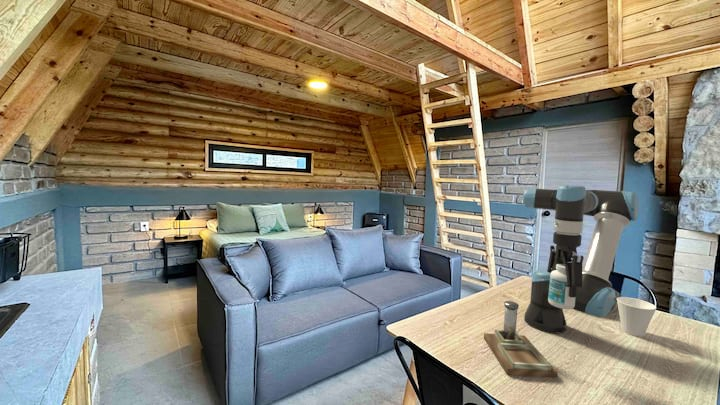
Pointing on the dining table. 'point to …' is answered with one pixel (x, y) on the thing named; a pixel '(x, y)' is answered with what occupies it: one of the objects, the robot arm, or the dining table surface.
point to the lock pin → (510, 320)
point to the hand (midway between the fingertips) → (561, 300)
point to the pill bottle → (558, 287)
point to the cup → (635, 315)
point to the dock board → (519, 356)
